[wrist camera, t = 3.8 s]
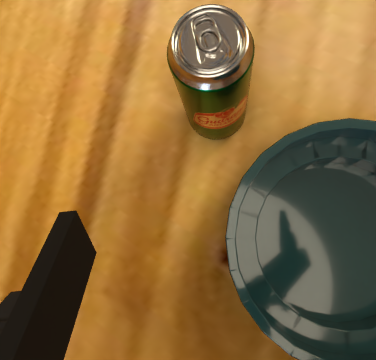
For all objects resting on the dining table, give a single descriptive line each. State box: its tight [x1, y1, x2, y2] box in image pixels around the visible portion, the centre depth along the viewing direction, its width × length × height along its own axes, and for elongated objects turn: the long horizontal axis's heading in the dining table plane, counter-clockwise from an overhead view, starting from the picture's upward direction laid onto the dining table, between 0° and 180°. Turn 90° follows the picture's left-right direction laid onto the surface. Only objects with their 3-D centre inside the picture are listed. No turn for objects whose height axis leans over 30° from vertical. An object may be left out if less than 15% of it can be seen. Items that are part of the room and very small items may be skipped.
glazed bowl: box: [225, 118, 376, 360], centre depth 25 cm, size 17×17×5 cm
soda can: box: [167, 4, 255, 139], centre depth 24 cm, size 5×5×12 cm
